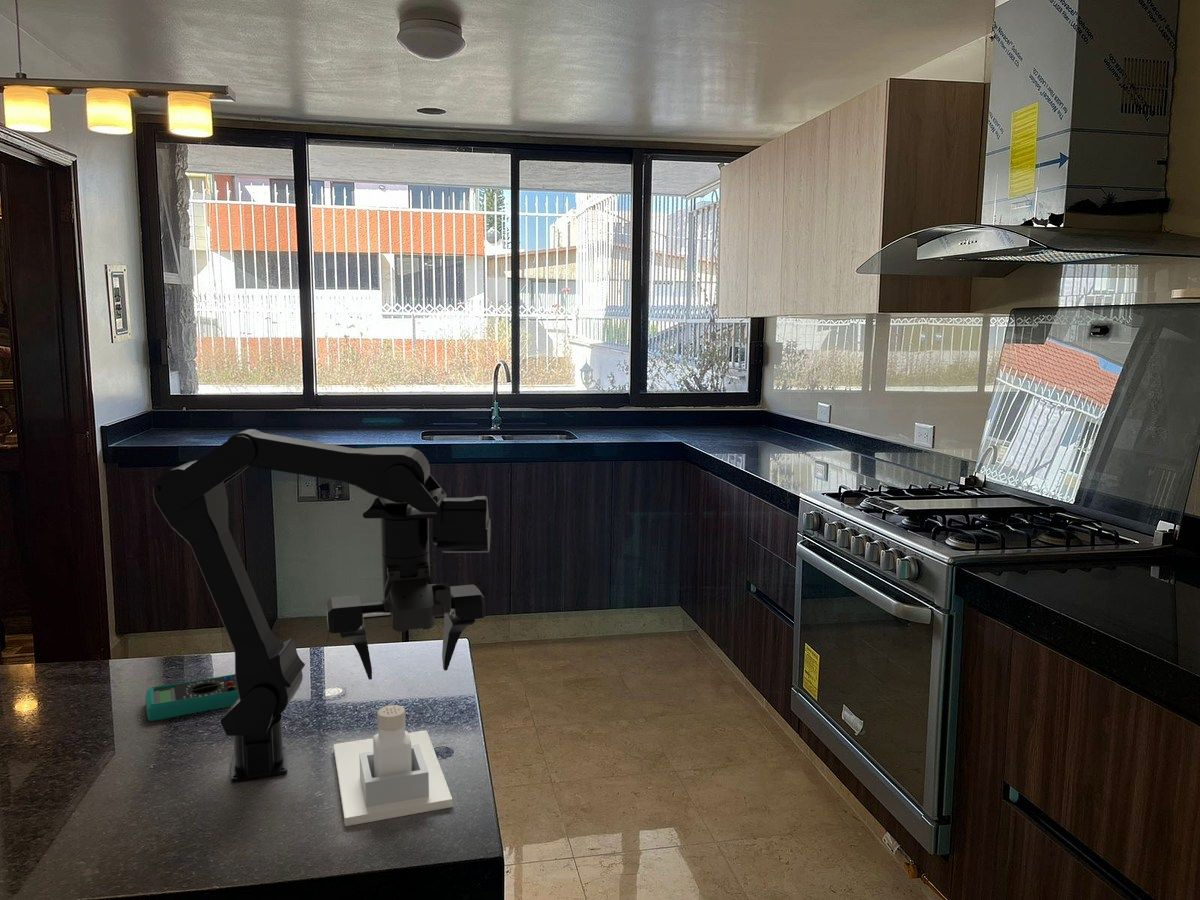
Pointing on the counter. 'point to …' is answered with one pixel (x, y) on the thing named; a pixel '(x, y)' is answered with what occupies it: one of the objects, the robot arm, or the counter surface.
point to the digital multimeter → (190, 697)
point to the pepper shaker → (391, 743)
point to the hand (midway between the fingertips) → (408, 673)
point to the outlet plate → (389, 782)
